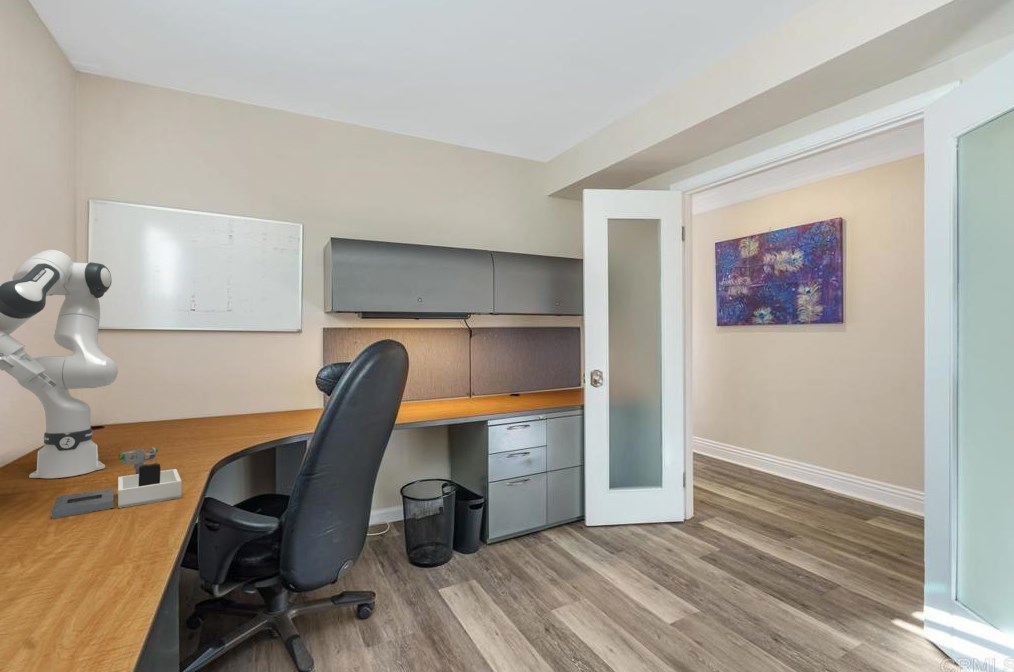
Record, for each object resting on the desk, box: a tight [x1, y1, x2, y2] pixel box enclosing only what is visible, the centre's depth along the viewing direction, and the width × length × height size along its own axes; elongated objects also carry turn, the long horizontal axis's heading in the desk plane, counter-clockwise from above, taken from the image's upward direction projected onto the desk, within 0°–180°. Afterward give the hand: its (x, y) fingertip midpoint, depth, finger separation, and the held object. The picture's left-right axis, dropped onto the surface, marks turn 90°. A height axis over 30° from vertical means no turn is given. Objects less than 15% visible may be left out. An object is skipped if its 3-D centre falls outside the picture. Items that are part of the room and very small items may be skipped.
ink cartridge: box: [138, 462, 162, 487], centre depth 140 cm, size 5×2×8 cm, turn 128°
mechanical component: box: [118, 447, 159, 475], centre depth 152 cm, size 3×10×10 cm, turn 155°
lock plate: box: [51, 487, 115, 520], centre depth 131 cm, size 14×12×2 cm
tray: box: [117, 468, 182, 509], centre depth 139 cm, size 16×14×5 cm
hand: (52, 388), depth 135 cm, fingers open, 8 cm apart
